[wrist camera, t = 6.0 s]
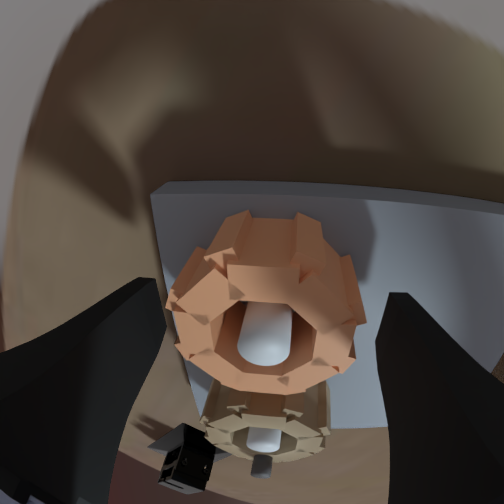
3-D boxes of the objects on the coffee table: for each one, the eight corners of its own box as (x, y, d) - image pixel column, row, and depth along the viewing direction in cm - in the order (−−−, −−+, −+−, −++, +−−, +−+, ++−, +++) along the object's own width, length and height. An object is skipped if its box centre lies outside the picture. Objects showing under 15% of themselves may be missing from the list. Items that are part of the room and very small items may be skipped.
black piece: (183, 405, 19) (164, 459, 15) (268, 441, 20) (261, 492, 16) (138, 442, 25) (124, 478, 21) (200, 469, 26) (191, 504, 22)
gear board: (540, 210, 9) (601, 261, 5) (452, 399, 15) (467, 455, 11) (167, 181, 11) (99, 234, 7) (206, 397, 17) (187, 459, 13)
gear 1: (363, 213, 9) (385, 260, 6) (339, 344, 11) (343, 401, 9) (186, 205, 9) (148, 247, 7) (203, 334, 12) (183, 387, 10)
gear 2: (337, 358, 12) (341, 438, 8) (319, 421, 14) (317, 483, 11) (207, 349, 12) (182, 423, 9) (220, 413, 15) (204, 472, 12)
